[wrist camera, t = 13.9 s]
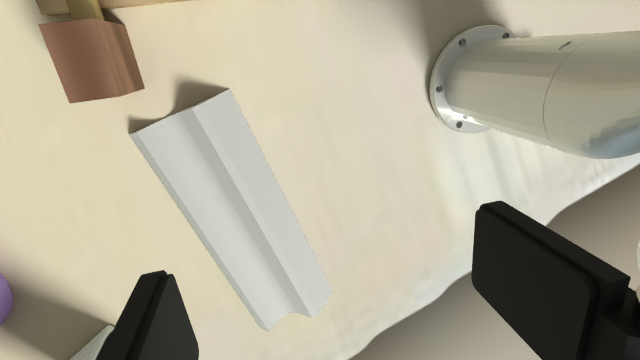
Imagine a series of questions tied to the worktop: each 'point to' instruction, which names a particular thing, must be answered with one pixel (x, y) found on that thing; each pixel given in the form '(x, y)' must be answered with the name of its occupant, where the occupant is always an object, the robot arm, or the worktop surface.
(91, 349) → the supplement box
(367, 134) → the worktop surface
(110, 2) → the oak board
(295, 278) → the crown molding
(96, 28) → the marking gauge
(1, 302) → the masking tape
